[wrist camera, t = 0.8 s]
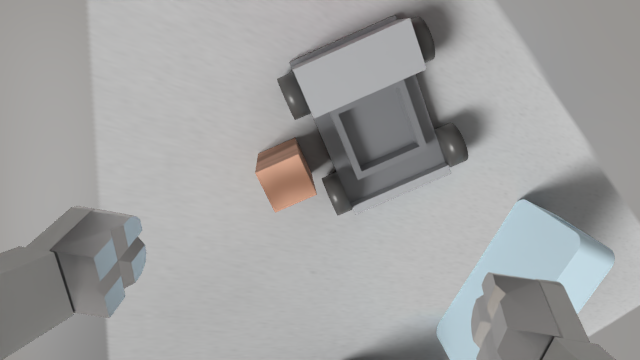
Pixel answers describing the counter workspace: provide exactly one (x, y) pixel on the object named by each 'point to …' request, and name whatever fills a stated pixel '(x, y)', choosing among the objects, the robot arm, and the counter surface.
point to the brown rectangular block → (285, 175)
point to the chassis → (374, 113)
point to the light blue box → (527, 268)
